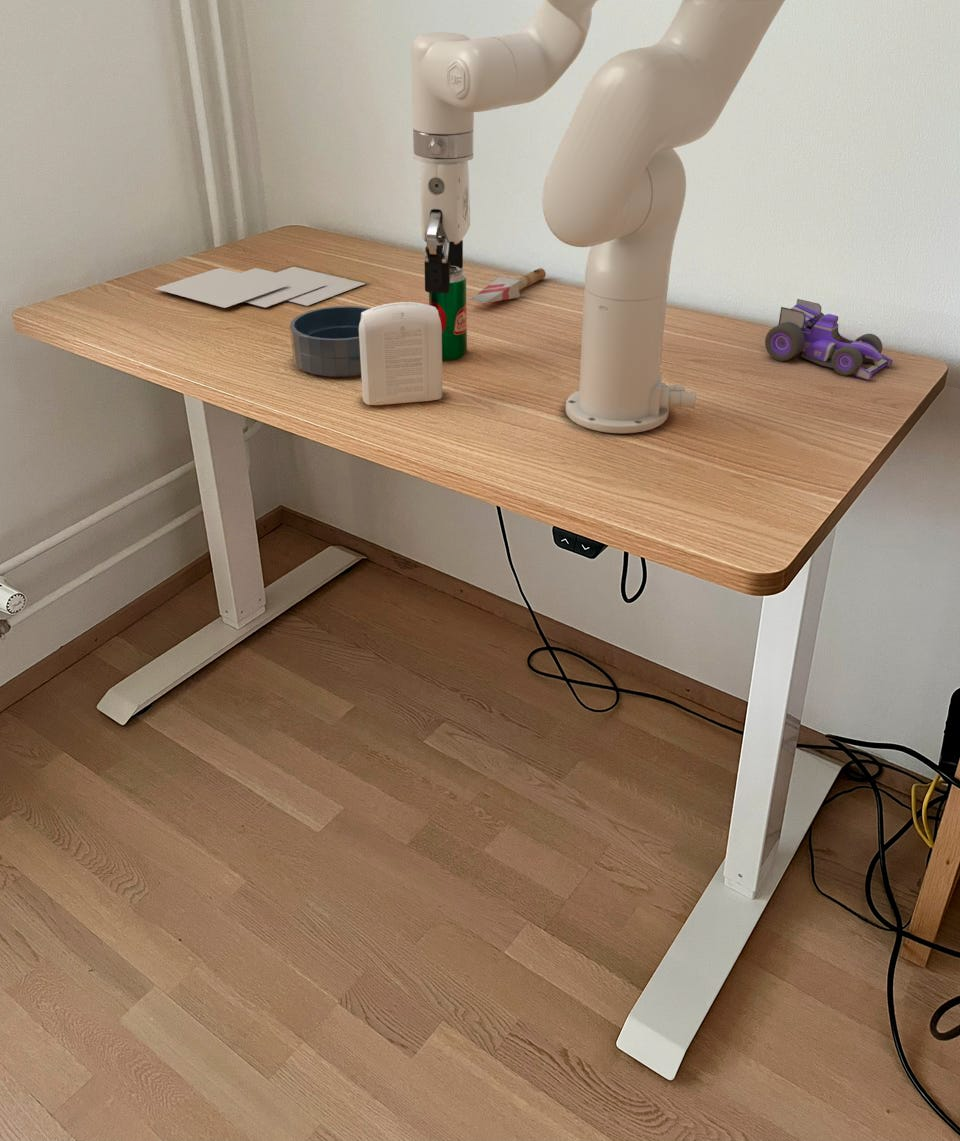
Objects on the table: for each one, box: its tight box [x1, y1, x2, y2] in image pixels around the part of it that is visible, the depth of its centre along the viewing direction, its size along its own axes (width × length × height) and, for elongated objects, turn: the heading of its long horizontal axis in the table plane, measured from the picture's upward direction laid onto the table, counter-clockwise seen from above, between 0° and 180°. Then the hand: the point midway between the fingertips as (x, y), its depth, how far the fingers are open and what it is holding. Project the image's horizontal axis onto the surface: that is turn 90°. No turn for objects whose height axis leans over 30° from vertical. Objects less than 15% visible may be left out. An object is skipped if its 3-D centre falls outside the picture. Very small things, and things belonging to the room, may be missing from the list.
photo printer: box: [359, 301, 443, 406], centre depth 126 cm, size 10×4×12 cm, turn 103°
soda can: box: [428, 266, 468, 362], centre depth 139 cm, size 5×5×12 cm
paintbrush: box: [469, 267, 547, 304], centre depth 164 cm, size 4×3×20 cm
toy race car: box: [764, 298, 894, 381], centre depth 138 cm, size 10×15×6 cm, turn 48°
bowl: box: [289, 305, 372, 378], centre depth 139 cm, size 14×14×6 cm
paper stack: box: [154, 266, 366, 309], centre depth 167 cm, size 23×25×1 cm
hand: (444, 280), depth 137 cm, fingers open, 9 cm apart
